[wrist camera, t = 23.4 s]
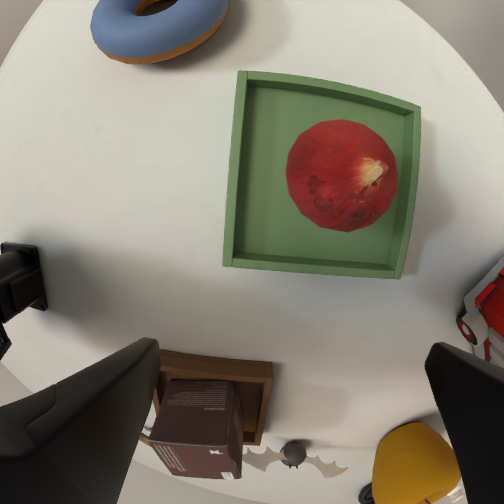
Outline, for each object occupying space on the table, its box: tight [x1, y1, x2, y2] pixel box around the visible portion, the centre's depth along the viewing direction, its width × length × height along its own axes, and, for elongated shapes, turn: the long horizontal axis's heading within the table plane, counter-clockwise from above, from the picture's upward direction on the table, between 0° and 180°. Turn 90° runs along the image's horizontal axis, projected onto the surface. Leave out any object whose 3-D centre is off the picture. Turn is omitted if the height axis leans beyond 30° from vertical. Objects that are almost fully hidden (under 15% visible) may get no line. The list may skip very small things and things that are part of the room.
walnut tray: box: [153, 350, 273, 446], centre depth 22 cm, size 10×10×2 cm
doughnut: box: [90, 0, 229, 64], centre depth 12 cm, size 10×10×5 cm
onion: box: [285, 119, 398, 233], centre depth 13 cm, size 6×6×8 cm
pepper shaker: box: [447, 479, 464, 503], centre depth 25 cm, size 5×5×11 cm
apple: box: [372, 422, 461, 504], centre depth 19 cm, size 11×11×13 cm
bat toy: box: [242, 443, 348, 478], centre depth 23 cm, size 3×15×5 cm, turn 65°
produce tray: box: [223, 71, 421, 279], centre depth 16 cm, size 12×12×2 cm
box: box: [148, 379, 244, 479], centre depth 19 cm, size 6×6×7 cm
